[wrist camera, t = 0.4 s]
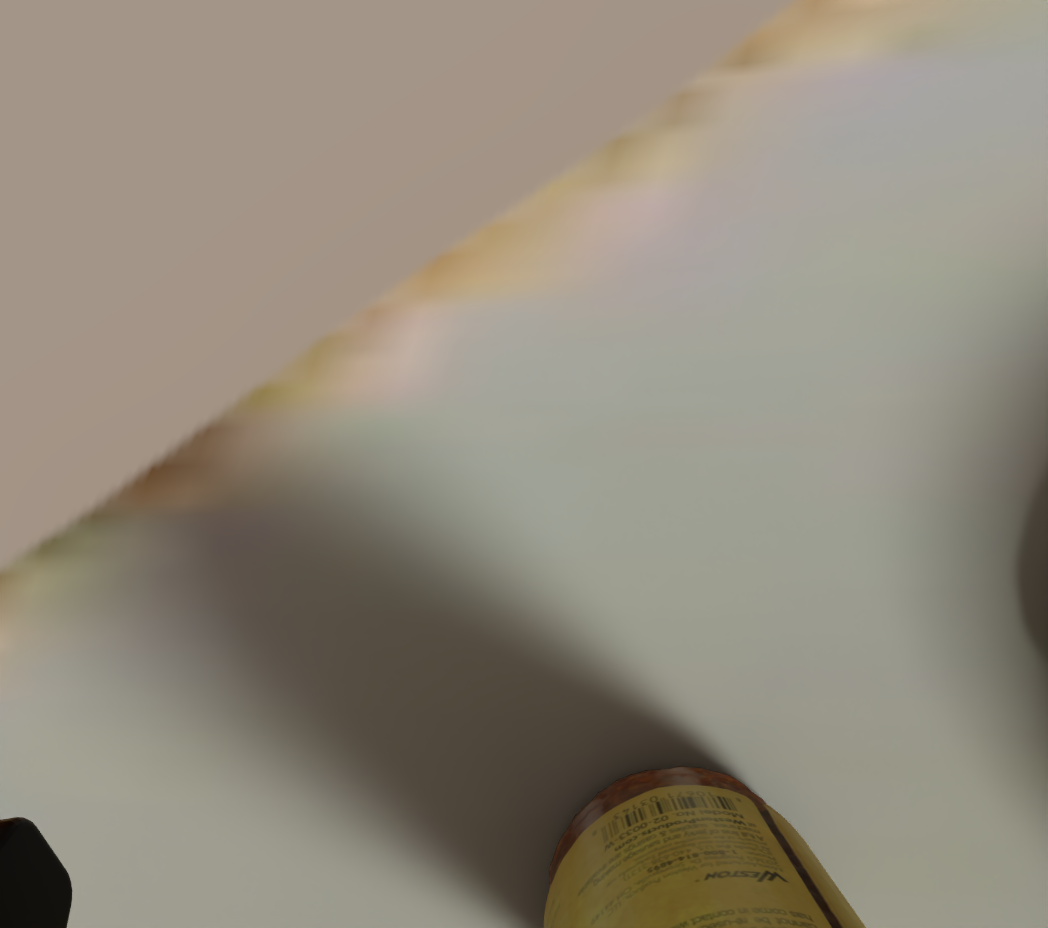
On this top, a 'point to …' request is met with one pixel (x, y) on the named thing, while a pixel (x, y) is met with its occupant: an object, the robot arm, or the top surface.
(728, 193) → the top surface
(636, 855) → the sauce bottle
